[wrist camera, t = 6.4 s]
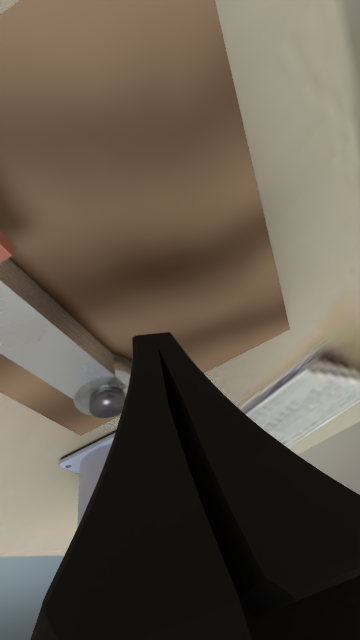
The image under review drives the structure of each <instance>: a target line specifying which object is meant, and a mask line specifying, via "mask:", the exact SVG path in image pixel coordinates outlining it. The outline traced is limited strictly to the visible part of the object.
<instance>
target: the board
mask: <svg viewBox="0 0 360 640" xmlns="http://www.w3.org/2000/svg"><path fill="white" fill-rule="evenodd" d="M0 231H1V232H2V233H3V234H4V235H5V236H6V237H7V238H8V239H9V240H10V241H11V242H12V243H13V244H14V245H15V246H16V247H17V248H16V250H15V252H14V254H13V256H11V257H10V258H9V259H10V260H11V261H12V262H13V263H14V264H15V265H16V266H17V267H18V268H20V269H21V270H22V271H23V272H24V273H25V274H26V275H27V276H28V277H29V278H30V279H32V280H33V281H34V282H35V283H36V284H37V285H38V286H39V287H40V288H41V289H42V290H44V291H45V292H46V293H47V294H48V295H49V296H50V297H51V298H52V299H53V300H54V301H55V302H57V303H58V304H59V305H60V306H61V307H62V308H63V309H64V310H65V311H66V312H67V313H69V314H70V315H71V316H72V317H73V318H74V319H75V320H76V321H77V322H78V323H79V324H81V325H82V326H83V327H84V328H85V329H86V330H87V331H88V332H89V333H90V334H91V335H93V336H94V337H95V338H96V339H97V340H98V341H99V342H100V343H101V344H102V345H103V346H105V347H106V348H107V349H108V350H109V351H110V352H111V353H112V354H113V355H117V356H121V357H124V358H126V359H128V360H130V361H131V362H132V361H133V347H132V338H133V337H134V336H136V335H145V334H155V333H165V332H170V333H171V334H172V335H173V336H174V338H175V339H176V340H177V342H178V343H179V344H180V346H181V347H182V348H183V350H184V351H185V352H186V353H187V355H188V356H189V357H190V358H191V360H192V361H193V362H194V363H195V364H196V366H197V367H198V368H199V369H200V370H201V371H202V372H203V373H205V372H207V371H209V370H211V369H212V368H214V367H216V366H218V365H220V364H222V363H224V362H226V361H228V360H230V359H232V358H234V357H236V356H238V355H240V354H242V353H244V352H246V351H248V350H250V349H252V348H254V347H256V346H258V345H260V344H262V343H264V342H266V341H268V340H270V339H272V338H274V337H275V336H277V335H279V334H281V333H283V332H285V331H287V330H289V329H290V327H289V323H288V319H287V314H286V310H285V305H284V301H283V297H282V292H281V288H280V284H279V279H278V275H277V271H276V266H275V262H274V257H273V253H272V249H271V244H270V240H269V236H268V231H267V227H266V223H265V218H264V214H263V209H262V205H261V201H260V196H259V192H258V188H257V183H256V179H255V175H254V170H253V166H252V161H251V157H250V153H249V148H248V144H247V140H246V135H245V131H244V127H243V122H242V118H241V113H240V109H239V105H238V100H237V96H236V92H235V87H234V83H233V79H232V74H231V70H230V65H229V61H228V57H227V52H226V48H225V44H224V39H223V35H222V31H221V26H220V22H219V17H218V13H217V9H216V4H215V0H20V1H19V2H17V3H16V4H15V5H13V6H12V7H10V8H9V9H7V10H6V11H5V12H3V13H2V14H0ZM0 392H1V393H3V394H5V395H6V396H8V397H10V398H12V399H14V400H16V401H18V402H19V403H21V404H23V405H25V406H27V407H29V408H31V409H32V410H34V411H36V412H38V413H40V414H42V415H43V416H45V417H47V418H49V419H51V420H53V421H55V422H56V423H58V424H60V425H62V426H64V427H66V428H68V429H69V430H71V431H73V432H75V433H77V434H79V435H80V436H81V435H83V434H85V433H87V432H88V431H90V430H92V429H94V428H96V427H98V426H100V425H102V424H104V423H106V422H108V421H110V420H112V419H114V418H116V417H118V416H120V415H121V414H119V415H117V416H114V417H110V418H99V417H95V416H90V415H87V414H84V413H82V412H81V411H79V410H78V409H77V408H76V406H75V404H74V399H72V398H70V397H69V396H67V395H66V394H64V393H62V392H61V391H59V390H58V389H56V388H55V387H53V386H51V385H50V384H48V383H47V382H45V381H43V380H42V379H40V378H39V377H37V376H35V375H34V374H32V373H31V372H29V371H27V370H26V369H24V368H23V367H21V366H20V365H18V364H16V363H15V362H13V361H12V360H10V359H8V358H7V357H5V356H4V355H2V354H0Z"/></svg>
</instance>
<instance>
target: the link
mask: <svg viewBox="0 0 360 640" xmlns="http://www.w3.org/2000/svg"><path fill="white" fill-rule="evenodd" d="M0 354H2V355H4V356H5V357H7V358H8V359H10V360H12V361H13V362H15V363H16V364H18V365H20V366H21V367H23V368H24V369H26V370H27V371H29V372H31V373H32V374H34V375H35V376H37V377H39V378H40V379H42V380H43V381H45V382H47V383H48V384H50V385H51V386H53V387H55V388H56V389H58V390H59V391H61V392H62V393H64V394H66V395H67V396H69V397H70V398H72V399H74V404H75V406H76V408H77V409H78V410H79V411H81V412H82V413H84V414H87V415H90V416H95V417H99V418H110V417H114V416H117V415H119V414H121V413H122V410H123V406H124V402H125V398H126V394H127V390H128V386H129V380H130V375H131V369H132V362H131V361H130V360H128V359H126V358H124V357H121V356H117V355H113V354H112V353H111V352H110V351H109V350H108V349H107V348H106V347H105V346H103V345H102V344H101V343H100V342H99V341H98V340H97V339H96V338H95V337H94V336H93V335H91V334H90V333H89V332H88V331H87V330H86V329H85V328H84V327H83V326H82V325H81V324H79V323H78V322H77V321H76V320H75V319H74V318H73V317H72V316H71V315H70V314H69V313H67V312H66V311H65V310H64V309H63V308H62V307H61V306H60V305H59V304H58V303H57V302H55V301H54V300H53V299H52V298H51V297H50V296H49V295H48V294H47V293H46V292H45V291H44V290H42V289H41V288H40V287H39V286H38V285H37V284H36V283H35V282H34V281H33V280H32V279H30V278H29V277H28V276H27V275H26V274H25V273H24V272H23V271H22V270H21V269H20V268H18V267H17V266H16V265H15V264H14V263H13V262H12V261H11V260H10V259H9V258H8V259H6V260H5V261H3V262H1V263H0Z"/></svg>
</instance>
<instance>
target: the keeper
mask: <svg viewBox="0 0 360 640" xmlns="http://www.w3.org/2000/svg"><path fill="white" fill-rule="evenodd" d="M16 248H17V247H16V246H15V245H14V244H13V243H12V242H11V241H10V240H9V239H8V238H7V237H6V236H5V235H4V234H3V233H2V232H1V231H0V263H1V262H3V261H5V260H6V259H8V258H10V257H11V256H13V254H14V252H15V250H16Z"/></svg>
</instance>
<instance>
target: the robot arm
mask: <svg viewBox="0 0 360 640" xmlns="http://www.w3.org/2000/svg"><path fill="white" fill-rule="evenodd" d="M132 347H133V361H132V369H131V375H130V380H129V386H128V390H127V394H126V398H125V402H124V406H123V410H122V413H121V417H120V420H119V423H118V427H117V430H116V432H115V433H113V434H111V435H109V436H107V437H105V438H103V439H101V440H99V441H97V442H95V443H93V444H91V445H89V446H87V447H85V448H83V449H82V450H80V451H78V452H76V453H74V454H72V455H70V456H68V457H66V458H64V459H62V460H60V462H59V466H60V467H62V468H64V469H67V470H70V471H72V472H75V473H77V474H79V499H78V527H77V530H76V533H75V535H74V537H73V539H72V541H71V543H70V545H69V548H68V550H67V552H66V554H65V556H64V558H63V560H62V562H61V564H60V566H59V568H58V570H57V573H56V575H55V577H54V579H53V581H52V583H51V585H50V587H49V589H48V591H47V593H46V596H45V598H44V600H43V603H42V607H41V610H40V613H39V616H38V619H37V623H36V625H35V628H34V631H33V634H32V637H31V640H360V495H359V494H357V493H355V492H354V491H352V490H350V489H349V488H347V487H345V486H344V485H342V484H341V483H339V482H337V481H335V480H334V479H332V478H331V477H329V476H328V475H326V474H324V473H323V472H321V471H320V470H318V469H317V468H315V467H314V466H313V465H311V464H310V463H308V462H307V461H305V460H304V459H302V458H301V457H299V456H298V455H296V454H295V453H294V452H292V451H291V450H290V449H288V448H287V447H286V446H284V445H283V444H282V443H280V442H279V441H278V440H276V439H275V438H274V437H272V436H271V435H270V434H268V433H267V432H266V431H264V430H263V429H262V428H261V427H259V426H258V425H257V424H256V423H255V422H253V421H252V420H251V419H250V418H249V417H247V416H246V415H245V414H244V413H243V412H242V411H241V410H240V409H238V408H237V407H236V406H235V405H234V404H233V403H232V402H231V401H230V400H229V399H228V398H227V397H226V396H225V395H224V394H223V393H222V392H221V391H220V390H219V389H218V388H217V387H216V386H215V385H214V384H213V383H212V382H211V381H210V380H209V379H208V378H207V377H206V376H205V375H204V373H203V372H202V371H201V370H200V369H199V368H198V367H197V366H196V364H195V363H194V362H193V361H192V360H191V358H190V357H189V356H188V355H187V353H186V352H185V351H184V350H183V348H182V347H181V346H180V344H179V343H178V342H177V340H176V339H175V338H174V336H173V335H172V334H171V333H170V332H165V333H155V334H145V335H136V336H134V337H133V338H132Z"/></svg>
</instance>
